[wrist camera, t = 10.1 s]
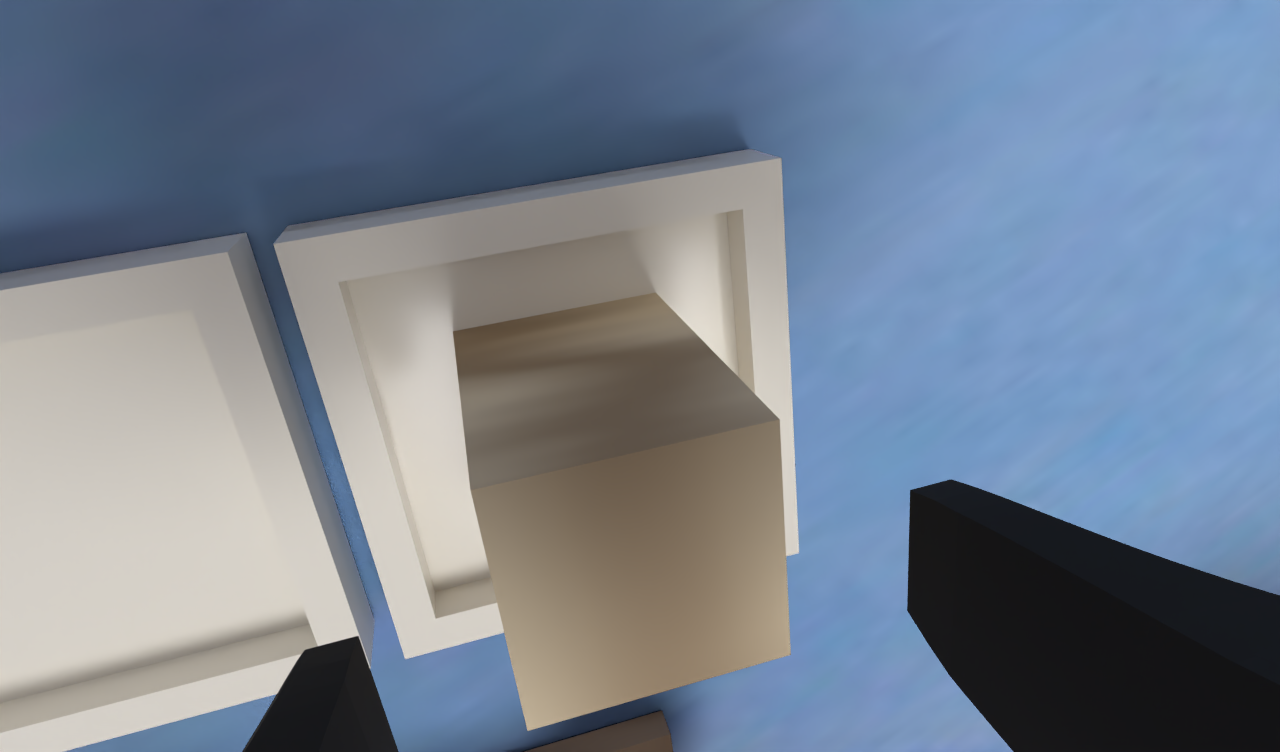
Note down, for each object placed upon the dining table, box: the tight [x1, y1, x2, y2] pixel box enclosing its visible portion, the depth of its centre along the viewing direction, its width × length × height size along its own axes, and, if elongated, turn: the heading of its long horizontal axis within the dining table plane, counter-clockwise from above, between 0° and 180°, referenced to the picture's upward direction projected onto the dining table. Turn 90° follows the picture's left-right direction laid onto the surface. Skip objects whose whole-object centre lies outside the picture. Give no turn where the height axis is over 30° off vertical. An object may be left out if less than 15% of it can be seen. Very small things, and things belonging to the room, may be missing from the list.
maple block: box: [453, 293, 791, 731], centre depth 13 cm, size 4×4×6 cm
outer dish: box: [273, 149, 799, 659], centre depth 16 cm, size 9×9×2 cm
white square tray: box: [0, 233, 375, 752], centre depth 14 cm, size 9×9×2 cm
